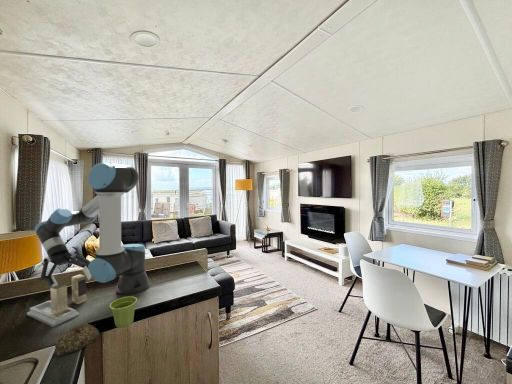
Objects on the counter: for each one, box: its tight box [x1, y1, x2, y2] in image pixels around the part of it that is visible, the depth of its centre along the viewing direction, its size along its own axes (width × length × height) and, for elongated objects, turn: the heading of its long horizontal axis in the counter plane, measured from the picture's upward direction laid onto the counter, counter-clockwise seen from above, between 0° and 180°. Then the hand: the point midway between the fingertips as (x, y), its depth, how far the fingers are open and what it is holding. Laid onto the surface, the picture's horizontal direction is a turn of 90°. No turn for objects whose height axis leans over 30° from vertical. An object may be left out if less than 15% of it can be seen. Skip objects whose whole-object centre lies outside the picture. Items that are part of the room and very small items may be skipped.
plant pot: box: [109, 296, 138, 329], centre depth 89 cm, size 9×9×9 cm
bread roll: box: [53, 323, 100, 357], centre depth 80 cm, size 13×12×5 cm
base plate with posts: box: [26, 283, 80, 328], centre depth 95 cm, size 20×9×13 cm, turn 66°
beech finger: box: [71, 274, 87, 305], centre depth 106 cm, size 5×4×12 cm
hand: (74, 283), depth 107 cm, fingers open, 13 cm apart
